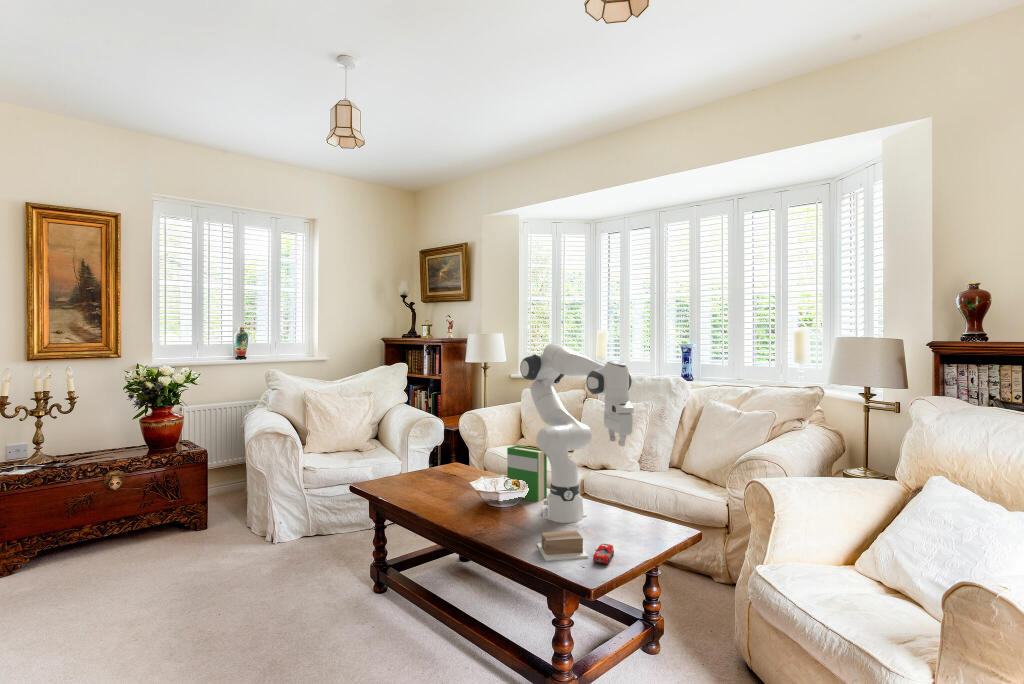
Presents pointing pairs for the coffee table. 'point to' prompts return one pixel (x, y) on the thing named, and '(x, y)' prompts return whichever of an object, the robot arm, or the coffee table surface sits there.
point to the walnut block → (561, 542)
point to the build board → (562, 555)
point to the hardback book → (528, 470)
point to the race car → (603, 553)
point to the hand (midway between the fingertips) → (617, 443)
